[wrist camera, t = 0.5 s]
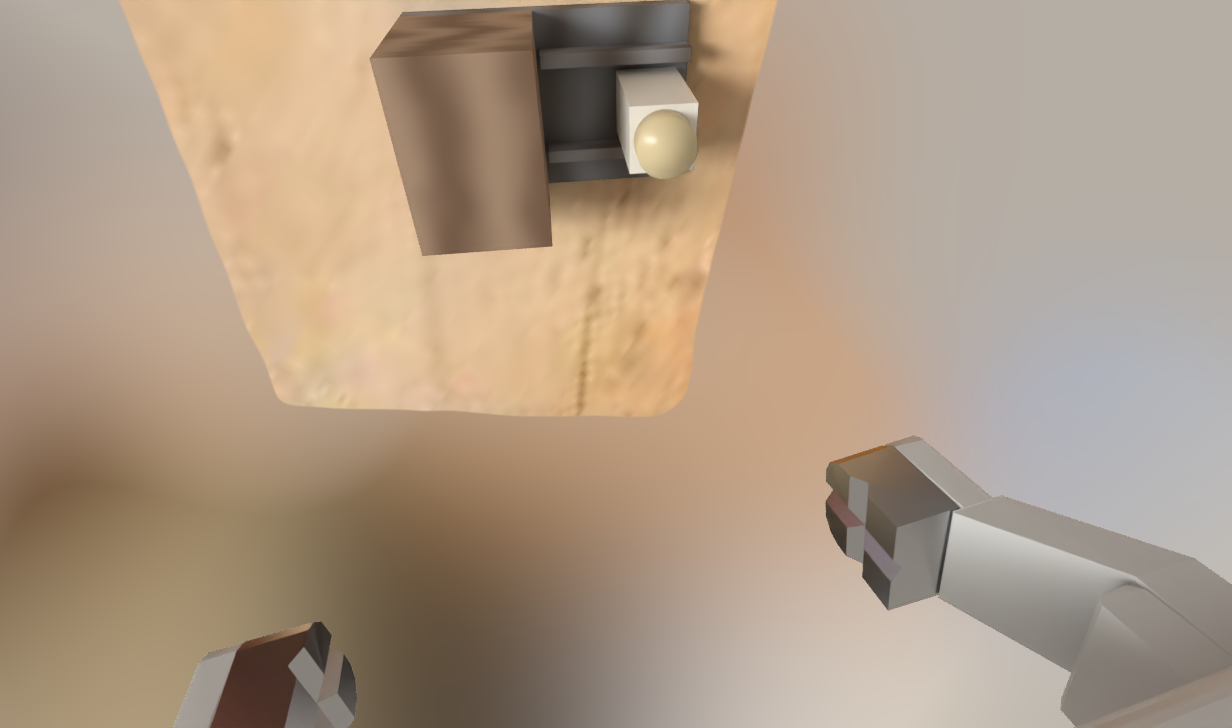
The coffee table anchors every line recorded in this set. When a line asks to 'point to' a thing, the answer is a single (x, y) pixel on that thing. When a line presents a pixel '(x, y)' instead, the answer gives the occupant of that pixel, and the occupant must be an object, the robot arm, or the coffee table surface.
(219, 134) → the coffee table surface
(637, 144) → the knob
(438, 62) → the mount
